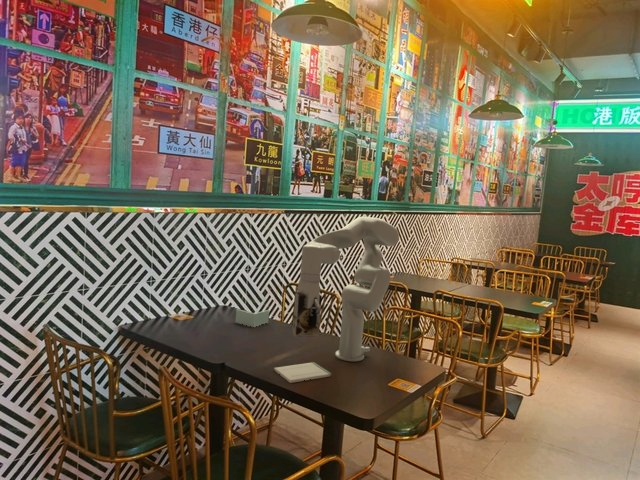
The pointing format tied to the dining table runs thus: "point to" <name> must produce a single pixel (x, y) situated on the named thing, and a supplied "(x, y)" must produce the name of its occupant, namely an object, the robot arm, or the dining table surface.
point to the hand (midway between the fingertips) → (306, 322)
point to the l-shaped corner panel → (251, 318)
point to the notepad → (302, 372)
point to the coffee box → (304, 318)
